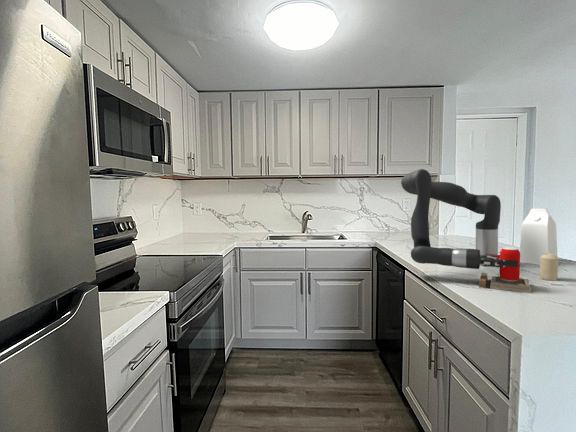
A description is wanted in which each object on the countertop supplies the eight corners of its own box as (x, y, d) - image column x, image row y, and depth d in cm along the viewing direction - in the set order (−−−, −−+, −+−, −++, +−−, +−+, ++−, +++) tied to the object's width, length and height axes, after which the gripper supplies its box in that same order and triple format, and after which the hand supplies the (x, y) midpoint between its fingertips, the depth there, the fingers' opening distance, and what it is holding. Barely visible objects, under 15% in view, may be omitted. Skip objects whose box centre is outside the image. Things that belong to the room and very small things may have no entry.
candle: (540, 276, 138) (540, 252, 138) (557, 278, 135) (558, 253, 134) (539, 279, 134) (539, 254, 133) (557, 281, 131) (557, 255, 130)
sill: (481, 278, 137) (481, 272, 137) (487, 279, 136) (487, 273, 136) (479, 287, 125) (479, 280, 125) (485, 288, 124) (485, 281, 124)
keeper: (491, 281, 134) (491, 275, 134) (528, 284, 127) (528, 278, 127) (490, 288, 124) (490, 282, 123) (530, 292, 117) (530, 286, 117)
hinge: (406, 247, 221) (412, 232, 220) (413, 249, 221) (419, 235, 219) (410, 251, 205) (416, 235, 204) (418, 254, 204) (424, 238, 203)
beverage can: (499, 277, 130) (500, 246, 129) (519, 279, 126) (520, 247, 125) (498, 281, 125) (499, 248, 124) (519, 283, 121) (520, 250, 120)
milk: (557, 262, 164) (558, 208, 162) (548, 265, 157) (549, 209, 155) (529, 259, 173) (529, 207, 172) (518, 262, 167) (519, 209, 165)
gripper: (464, 251, 126) (518, 255, 117) (467, 246, 138) (517, 249, 129) (463, 271, 127) (518, 276, 118) (467, 264, 139) (517, 268, 130)
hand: (517, 262), depth 124 cm, fingers closed on beverage can, 6 cm apart
